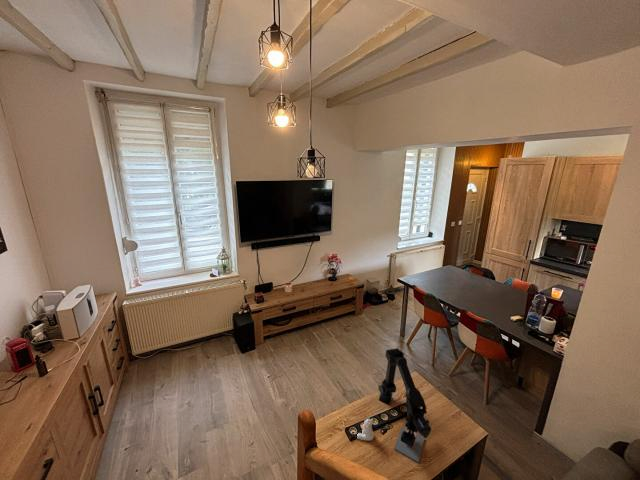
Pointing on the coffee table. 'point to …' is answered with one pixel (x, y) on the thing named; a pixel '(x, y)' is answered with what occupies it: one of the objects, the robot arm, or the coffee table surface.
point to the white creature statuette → (366, 431)
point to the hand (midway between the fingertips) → (410, 439)
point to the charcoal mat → (408, 450)
